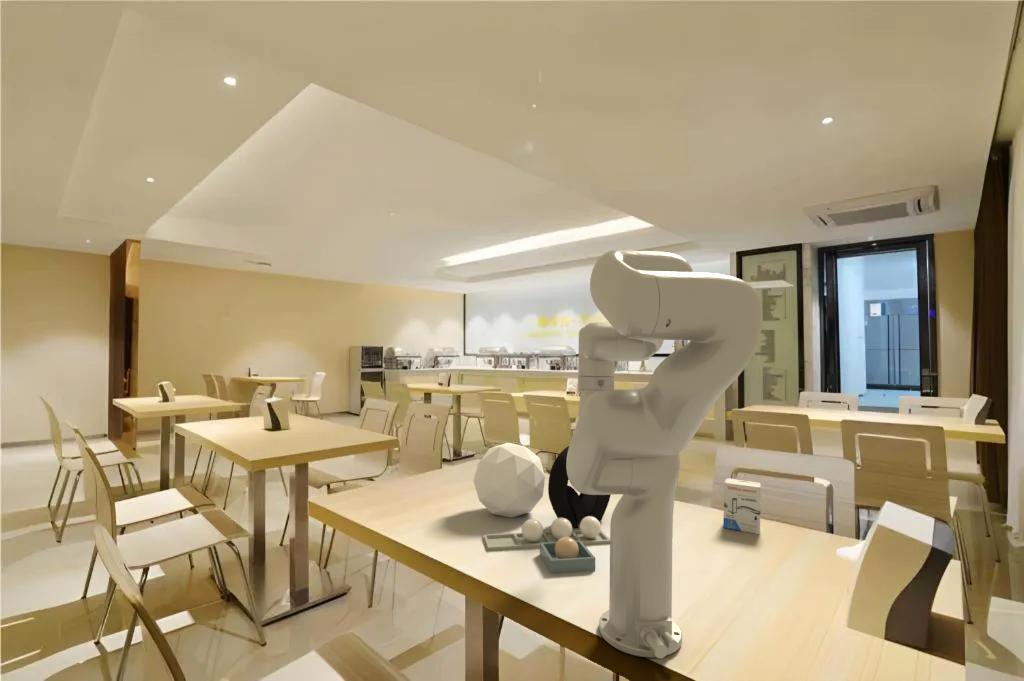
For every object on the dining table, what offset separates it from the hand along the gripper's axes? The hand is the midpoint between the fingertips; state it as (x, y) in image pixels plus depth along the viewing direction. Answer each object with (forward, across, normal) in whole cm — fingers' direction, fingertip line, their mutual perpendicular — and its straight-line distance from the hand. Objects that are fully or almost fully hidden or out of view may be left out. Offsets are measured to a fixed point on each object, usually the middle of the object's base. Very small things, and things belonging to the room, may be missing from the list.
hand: (595, 467), depth 102 cm
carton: (+20, +14, +6) cm, 25 cm away
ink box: (+20, +13, -46) cm, 52 cm away
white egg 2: (+20, +14, +2) cm, 24 cm away
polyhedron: (+20, +35, +10) cm, 42 cm away
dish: (+20, +2, +6) cm, 21 cm away
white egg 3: (+20, +13, -5) cm, 24 cm away
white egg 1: (+20, +14, +9) cm, 26 cm away
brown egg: (+20, +2, +6) cm, 21 cm away
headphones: (+20, +24, -7) cm, 32 cm away
